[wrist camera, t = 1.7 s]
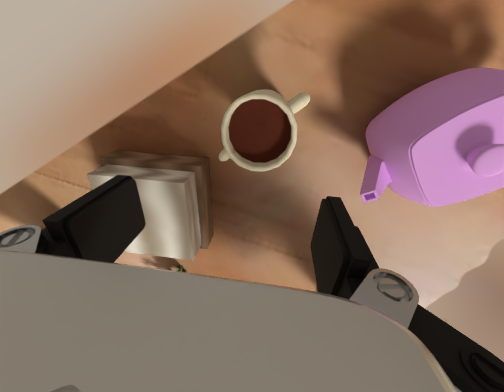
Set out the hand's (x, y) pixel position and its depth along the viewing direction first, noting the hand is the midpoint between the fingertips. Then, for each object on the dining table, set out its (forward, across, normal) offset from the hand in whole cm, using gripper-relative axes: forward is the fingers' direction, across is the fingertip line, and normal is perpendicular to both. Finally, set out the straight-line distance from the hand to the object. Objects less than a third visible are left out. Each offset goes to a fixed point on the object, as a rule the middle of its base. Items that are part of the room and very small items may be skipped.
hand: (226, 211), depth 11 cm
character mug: (+24, -1, -1) cm, 24 cm away
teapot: (+24, -21, 0) cm, 31 cm away
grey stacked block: (+24, +16, +14) cm, 32 cm away
